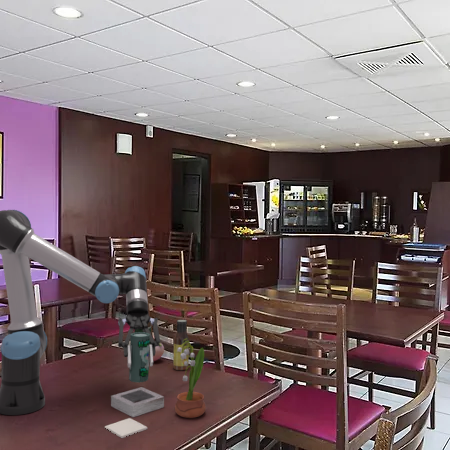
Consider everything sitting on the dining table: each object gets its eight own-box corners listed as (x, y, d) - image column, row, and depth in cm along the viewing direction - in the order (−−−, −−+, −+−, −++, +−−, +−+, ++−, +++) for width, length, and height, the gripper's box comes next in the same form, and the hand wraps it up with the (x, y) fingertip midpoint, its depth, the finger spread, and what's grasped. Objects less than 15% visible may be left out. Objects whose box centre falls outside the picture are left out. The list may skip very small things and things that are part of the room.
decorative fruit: (138, 362, 217) (138, 339, 217) (148, 357, 225) (149, 335, 224) (156, 366, 213) (157, 342, 213) (167, 360, 221) (167, 338, 220)
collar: (133, 417, 161) (133, 406, 161) (111, 406, 170) (111, 395, 169) (163, 407, 170) (164, 396, 170) (141, 396, 178) (141, 387, 178)
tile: (121, 438, 146) (121, 436, 146) (104, 428, 153) (104, 426, 153) (147, 429, 153) (147, 427, 153) (129, 419, 159) (129, 417, 159)
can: (146, 382, 166) (147, 337, 166) (127, 381, 166) (129, 336, 166) (149, 376, 172) (151, 332, 172) (131, 375, 173) (133, 331, 172)
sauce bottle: (185, 371, 207) (186, 323, 206) (171, 370, 208) (172, 322, 208) (190, 366, 213) (191, 319, 213) (175, 365, 215) (176, 318, 214)
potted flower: (190, 425, 156) (191, 344, 155) (164, 417, 162) (165, 339, 161) (211, 412, 166) (213, 336, 166) (186, 405, 172) (188, 331, 171)
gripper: (162, 310, 186) (168, 369, 171) (108, 311, 181) (109, 371, 166) (165, 299, 181) (171, 358, 166) (109, 299, 176) (110, 360, 161)
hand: (140, 364), depth 166 cm, fingers closed on can, 6 cm apart
